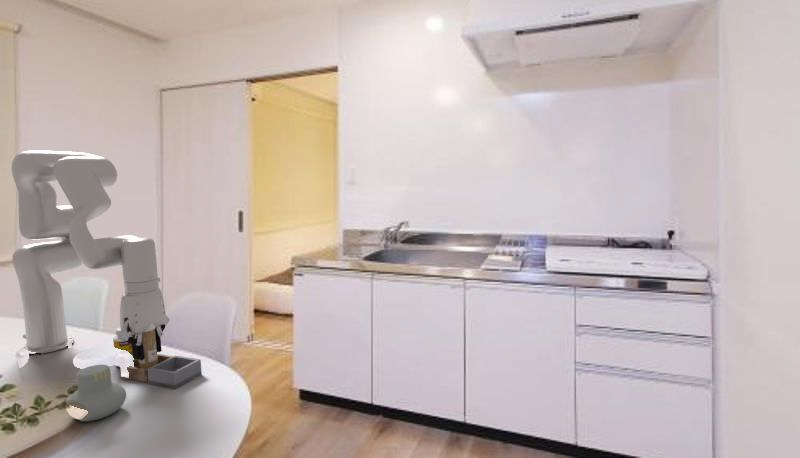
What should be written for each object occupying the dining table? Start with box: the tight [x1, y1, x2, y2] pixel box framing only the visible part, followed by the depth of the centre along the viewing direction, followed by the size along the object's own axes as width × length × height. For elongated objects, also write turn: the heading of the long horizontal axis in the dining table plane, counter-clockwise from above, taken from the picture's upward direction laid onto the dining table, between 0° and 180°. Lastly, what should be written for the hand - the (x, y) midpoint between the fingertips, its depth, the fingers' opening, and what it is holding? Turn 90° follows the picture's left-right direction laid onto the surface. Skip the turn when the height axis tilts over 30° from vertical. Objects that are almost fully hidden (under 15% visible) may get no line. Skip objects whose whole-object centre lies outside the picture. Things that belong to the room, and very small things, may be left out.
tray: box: [148, 355, 203, 390], centre depth 111 cm, size 8×8×4 cm
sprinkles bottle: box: [138, 324, 158, 369], centre depth 115 cm, size 5×5×14 cm
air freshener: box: [65, 364, 127, 423], centre depth 95 cm, size 11×8×10 cm
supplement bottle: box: [113, 327, 136, 360], centre depth 120 cm, size 6×6×10 cm
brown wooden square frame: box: [127, 353, 173, 383], centre depth 116 cm, size 9×9×3 cm
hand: (147, 354), depth 115 cm, fingers closed on sprinkles bottle, 4 cm apart
